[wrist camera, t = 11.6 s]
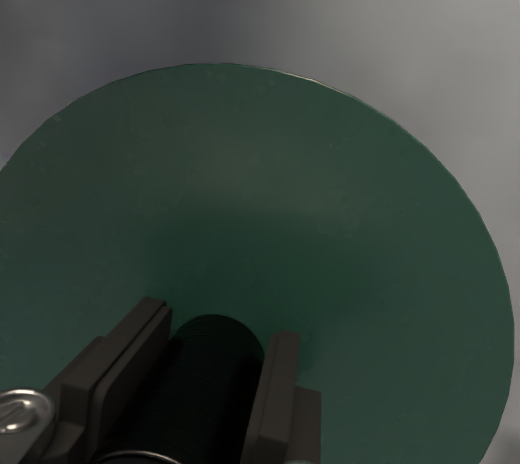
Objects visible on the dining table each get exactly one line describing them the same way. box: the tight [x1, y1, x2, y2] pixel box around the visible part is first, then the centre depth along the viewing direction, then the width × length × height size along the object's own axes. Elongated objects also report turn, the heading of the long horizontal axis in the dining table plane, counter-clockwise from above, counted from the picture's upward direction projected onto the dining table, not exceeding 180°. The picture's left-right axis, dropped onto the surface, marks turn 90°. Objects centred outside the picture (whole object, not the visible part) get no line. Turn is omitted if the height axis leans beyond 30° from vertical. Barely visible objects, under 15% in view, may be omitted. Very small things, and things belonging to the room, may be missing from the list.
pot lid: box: [0, 63, 514, 464], centre depth 10 cm, size 15×15×6 cm
